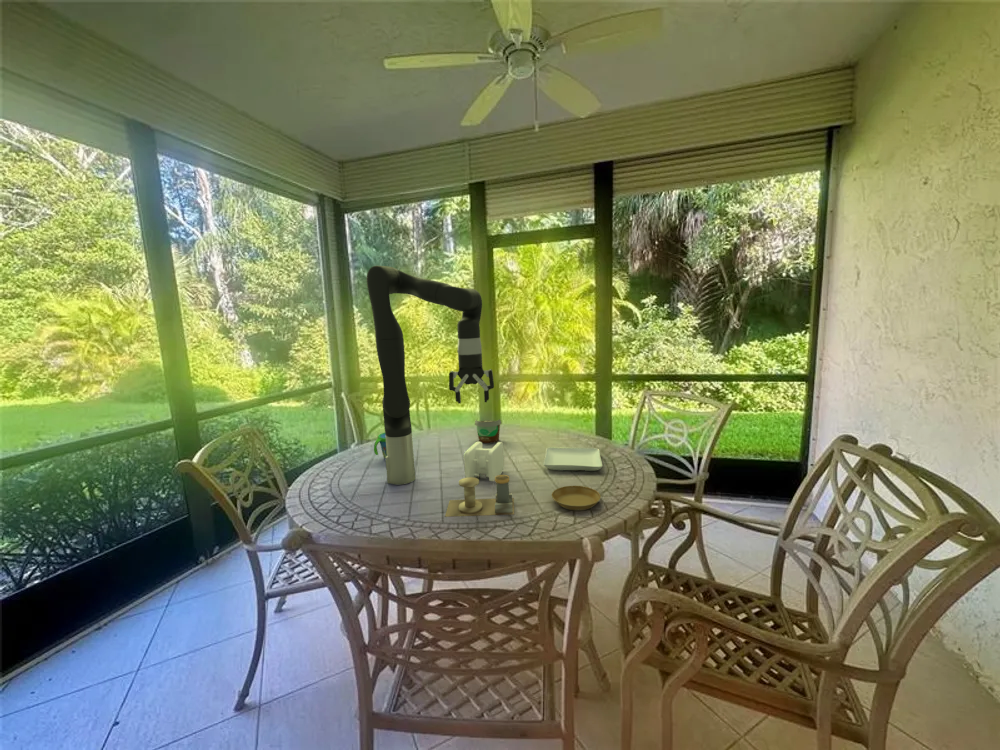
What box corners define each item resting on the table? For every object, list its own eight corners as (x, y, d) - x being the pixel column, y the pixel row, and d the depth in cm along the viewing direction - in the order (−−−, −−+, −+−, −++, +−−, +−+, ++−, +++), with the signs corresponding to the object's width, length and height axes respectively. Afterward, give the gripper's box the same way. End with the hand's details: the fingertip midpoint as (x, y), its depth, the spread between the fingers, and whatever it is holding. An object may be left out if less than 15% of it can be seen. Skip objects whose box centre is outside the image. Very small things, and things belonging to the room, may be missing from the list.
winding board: (445, 520, 125) (444, 508, 125) (450, 503, 136) (449, 492, 135) (514, 518, 125) (514, 506, 124) (513, 501, 136) (513, 490, 135)
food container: (473, 444, 196) (471, 422, 195) (475, 440, 202) (474, 419, 201) (499, 444, 194) (498, 422, 193) (502, 440, 200) (501, 419, 199)
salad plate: (599, 455, 175) (599, 447, 175) (602, 474, 155) (602, 465, 154) (546, 454, 179) (546, 446, 178) (543, 473, 158) (542, 464, 158)
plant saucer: (567, 489, 143) (567, 481, 143) (609, 500, 134) (608, 491, 134) (542, 506, 132) (542, 498, 132) (586, 519, 123) (586, 510, 122)
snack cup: (380, 465, 173) (378, 441, 172) (370, 459, 181) (367, 435, 180) (415, 456, 183) (413, 432, 181) (404, 450, 191) (402, 428, 190)
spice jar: (496, 503, 131) (495, 475, 130) (510, 503, 131) (509, 474, 130) (496, 509, 127) (494, 480, 126) (510, 509, 127) (509, 480, 126)
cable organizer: (493, 486, 148) (491, 453, 146) (464, 484, 151) (462, 452, 149) (505, 470, 162) (503, 440, 160) (478, 468, 165) (476, 439, 163)
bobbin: (457, 513, 126) (455, 486, 125) (460, 503, 133) (458, 477, 132) (481, 513, 126) (480, 485, 125) (482, 502, 133) (481, 476, 132)
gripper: (492, 350, 141) (494, 399, 144) (449, 352, 142) (452, 401, 144) (491, 352, 134) (494, 404, 136) (445, 354, 134) (449, 405, 137)
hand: (472, 402), depth 140 cm, fingers open, 8 cm apart
